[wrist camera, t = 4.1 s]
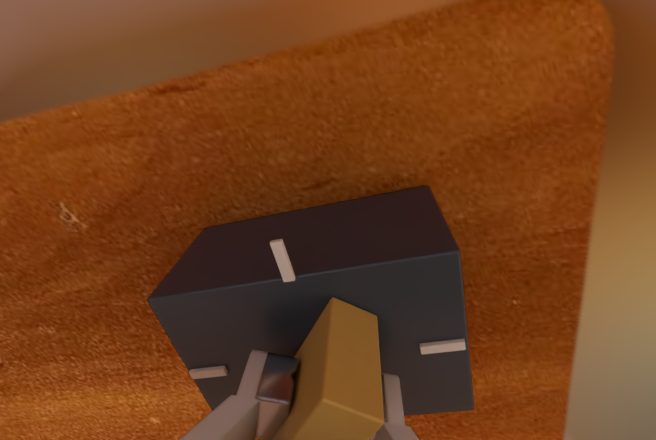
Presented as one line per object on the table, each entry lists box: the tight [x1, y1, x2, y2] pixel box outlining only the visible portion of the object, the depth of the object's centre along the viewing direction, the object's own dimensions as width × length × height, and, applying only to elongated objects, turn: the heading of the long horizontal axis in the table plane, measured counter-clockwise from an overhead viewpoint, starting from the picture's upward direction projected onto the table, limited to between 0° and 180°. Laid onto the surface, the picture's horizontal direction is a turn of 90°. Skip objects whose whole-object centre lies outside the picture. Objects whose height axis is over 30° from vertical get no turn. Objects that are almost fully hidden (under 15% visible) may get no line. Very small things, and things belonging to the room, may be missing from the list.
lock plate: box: [147, 186, 474, 416], centre depth 14 cm, size 10×10×5 cm
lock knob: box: [259, 297, 384, 440], centre depth 10 cm, size 6×2×4 cm, turn 155°
